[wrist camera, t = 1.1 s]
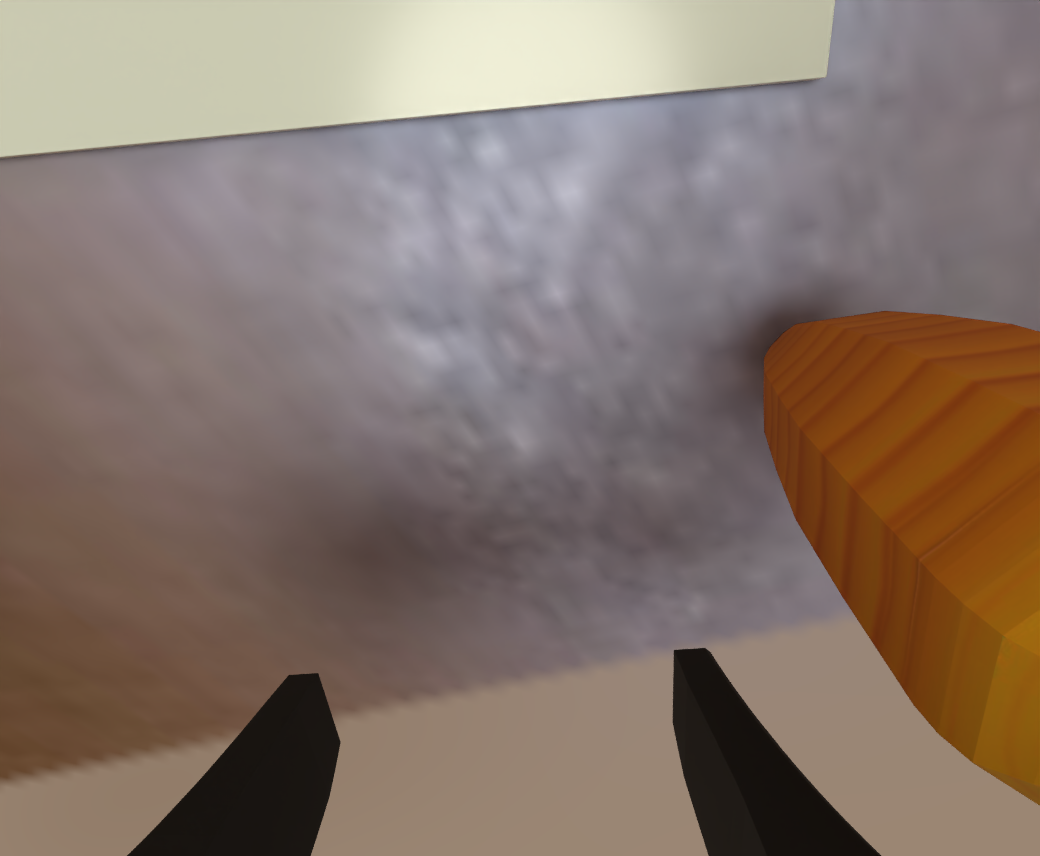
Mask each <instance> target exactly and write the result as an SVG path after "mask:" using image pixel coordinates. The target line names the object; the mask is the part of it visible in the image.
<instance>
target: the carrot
mask: <svg viewBox="0 0 1040 856" xmlns="http://www.w3.org/2000/svg"><path fill="white" fill-rule="evenodd" d="M763 398H764V432H765V435H766V438H767V442H768V445H769V448H770V451H771V454H772V458H773V461H774V464H775V467H776V470H777V473H778V476H779V478H780V481H781V483H782V486H783V488H784V491H785V493H786V496H787V498H788V501H789V503H790V506H791V508H792V511H793V514H794V516H795V519H796V521H797V522H798V524H799V526H800V527H801V529H802V531H803V532H804V534H805V536H806V537H807V539H808V541H809V542H810V544H811V546H812V547H813V549H814V551H815V552H816V554H817V555H818V557H819V559H820V560H821V562H822V564H823V565H824V567H825V569H826V570H827V572H828V574H829V575H830V577H831V579H832V580H833V582H834V584H835V585H836V587H837V589H838V590H839V592H840V594H841V595H842V597H843V598H844V600H845V601H846V603H847V604H848V606H849V607H850V609H851V610H852V612H853V613H854V615H855V617H856V618H857V620H858V621H859V623H860V624H861V626H862V627H863V629H864V630H865V632H866V633H867V635H868V636H869V638H870V639H871V641H872V642H873V644H874V645H875V647H876V648H877V650H878V651H879V653H880V655H881V656H882V658H883V659H884V661H885V662H886V664H887V665H888V667H889V668H890V670H891V671H892V673H893V674H894V676H895V677H896V679H897V680H898V682H899V683H900V685H901V686H902V688H903V689H904V691H905V693H906V694H907V696H908V697H909V699H910V700H911V702H912V703H913V705H914V706H915V707H916V708H917V709H918V711H919V712H920V713H921V714H922V715H923V716H924V718H925V719H926V720H927V721H928V722H929V724H930V725H931V726H932V727H933V728H934V729H935V730H936V732H937V733H938V734H939V735H941V736H942V737H943V738H944V739H945V740H946V741H948V742H949V743H950V744H951V745H952V746H953V747H955V748H956V749H957V750H958V751H959V752H961V753H962V754H963V755H964V756H965V757H967V758H968V759H969V760H970V761H971V762H972V763H974V764H976V765H977V766H979V767H980V768H982V769H983V770H985V771H987V772H988V773H990V774H991V775H993V776H994V777H996V778H997V779H999V780H1001V781H1002V782H1004V783H1005V784H1007V785H1008V786H1010V787H1012V788H1013V789H1015V790H1016V791H1018V792H1019V793H1021V794H1023V795H1024V796H1026V797H1027V798H1029V799H1030V800H1032V801H1034V802H1035V803H1037V804H1038V805H1040V332H1038V331H1035V330H1031V329H1028V328H1024V327H1020V326H1017V325H1013V324H1006V323H999V322H991V321H983V320H976V319H968V318H960V317H953V316H945V315H935V314H921V313H907V312H892V311H881V312H874V313H868V314H861V315H854V316H847V317H840V318H834V319H827V320H820V321H813V322H807V323H800V324H795V325H794V326H792V327H791V328H790V329H788V330H787V331H785V332H784V333H783V334H782V335H781V336H780V337H779V338H778V339H777V340H776V341H775V342H774V343H773V344H772V345H771V346H770V348H769V350H768V352H767V353H766V355H765V357H764V395H763Z"/></svg>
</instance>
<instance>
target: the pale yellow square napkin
mask: <svg viewBox="0 0 1040 856" xmlns="http://www.w3.org/2000/svg"><path fill="white" fill-rule="evenodd" d="M834 5H835V0H0V159H1V158H11V157H22V156H32V155H42V154H53V153H63V152H73V151H84V150H94V149H105V148H115V147H125V146H136V145H146V144H156V143H167V142H177V141H187V140H198V139H208V138H219V137H229V136H239V135H250V134H260V133H270V132H281V131H291V130H301V129H312V128H322V127H333V126H343V125H353V124H364V123H374V122H384V121H395V120H405V119H415V118H426V117H436V116H447V115H457V114H467V113H478V112H488V111H498V110H509V109H519V108H530V107H540V106H550V105H561V104H571V103H581V102H592V101H602V100H612V99H623V98H633V97H644V96H654V95H664V94H675V93H685V92H695V91H706V90H716V89H726V88H737V87H747V86H758V85H768V84H778V83H789V82H799V81H809V80H816V79H820V78H824V77H826V75H827V66H828V58H829V49H830V40H831V31H832V23H833V14H834Z"/></svg>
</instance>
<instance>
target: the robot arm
mask: <svg viewBox="0 0 1040 856" xmlns="http://www.w3.org/2000/svg"><path fill="white" fill-rule="evenodd" d="M673 683H674V684H673V725H674V731H675V736H676V741H677V746H678V751H679V755H680V760H681V765H682V769H683V774H684V778H685V781H686V785H687V788H688V791H689V794H690V798H691V801H692V804H693V807H694V810H695V814H696V817H697V820H698V823H699V826H700V830H701V833H702V836H703V839H704V842H705V846H706V849H707V852H708V855H709V856H881V855H880V854H879V853H878V852H877V851H876V850H875V849H874V848H873V847H872V846H871V845H870V844H869V843H868V842H867V841H866V840H865V839H864V838H863V837H862V836H861V835H860V834H859V833H858V832H857V831H856V830H855V829H854V828H853V827H852V826H851V825H850V824H849V823H848V822H847V821H845V819H844V818H843V817H842V816H841V815H840V814H839V813H838V812H837V811H836V810H835V809H834V808H833V807H832V805H831V804H830V803H829V802H828V801H827V800H826V799H825V798H824V797H823V796H822V795H821V794H820V793H819V792H818V790H817V789H816V788H815V787H814V786H813V785H812V784H811V782H810V781H809V780H808V779H807V778H806V777H805V776H804V775H803V773H802V772H801V771H800V770H799V769H798V768H797V767H796V765H795V764H794V763H793V762H792V761H791V759H790V758H789V757H788V756H787V755H786V754H785V752H784V751H783V750H782V749H781V748H780V746H779V745H778V744H777V743H776V741H775V740H774V739H773V738H772V736H771V735H770V734H769V733H768V731H767V730H766V729H765V728H764V726H763V725H762V724H761V723H760V721H759V720H758V719H757V718H756V716H755V715H754V714H753V713H752V711H751V710H750V708H748V706H747V705H746V703H745V702H744V700H743V699H742V698H741V696H740V695H739V694H738V692H737V691H736V689H735V688H734V687H733V685H732V684H731V682H730V681H729V680H728V678H727V677H726V675H725V674H724V672H723V671H722V669H721V668H720V666H719V665H718V664H717V662H716V660H715V659H714V657H713V656H712V654H711V652H709V651H708V650H707V649H706V648H698V649H682V650H674V678H673ZM339 747H340V739H339V736H338V733H337V730H336V727H335V724H334V721H333V718H332V714H331V711H330V708H329V705H328V702H327V699H326V696H325V693H324V690H323V687H322V684H321V681H320V677H319V674H318V673H314V674H299V675H289V676H288V677H287V678H286V679H285V680H284V681H283V683H282V684H281V685H280V686H279V687H278V688H277V690H276V691H275V692H274V693H273V694H272V696H271V697H270V698H269V699H268V700H267V702H266V703H265V704H264V705H263V706H262V708H261V709H260V710H259V711H258V712H257V714H256V715H255V716H254V717H253V718H252V720H251V721H250V722H249V723H248V724H247V726H246V727H245V728H244V729H243V730H242V732H241V733H240V734H239V735H238V736H237V738H236V739H235V740H234V741H233V742H232V743H231V745H230V746H229V747H228V748H227V749H226V750H225V752H224V753H223V754H222V755H221V756H220V757H219V758H218V760H217V761H216V762H215V763H214V764H213V766H211V768H210V769H209V770H208V771H207V772H206V773H205V775H204V776H203V777H202V778H201V779H200V780H199V781H198V782H197V784H196V785H195V786H194V787H193V788H192V789H191V790H190V791H189V792H188V793H187V795H185V796H184V798H183V799H182V800H181V801H180V802H179V803H178V804H177V805H176V806H175V807H174V808H173V809H172V811H171V812H170V813H169V814H168V815H167V816H166V817H165V818H164V819H163V820H162V821H161V822H160V823H159V824H158V825H157V826H156V827H155V828H154V830H152V831H151V832H150V834H149V835H147V837H146V838H145V839H144V840H143V841H142V842H141V843H140V844H139V845H138V846H137V847H136V848H135V849H134V850H133V851H131V853H129V854H128V855H127V856H311V853H312V850H313V847H314V844H315V841H316V837H317V834H318V831H319V828H320V825H321V822H322V818H323V816H324V812H325V809H326V806H327V803H328V799H329V796H330V791H331V787H332V782H333V777H334V773H335V768H336V762H337V758H338V752H339Z"/></svg>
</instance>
